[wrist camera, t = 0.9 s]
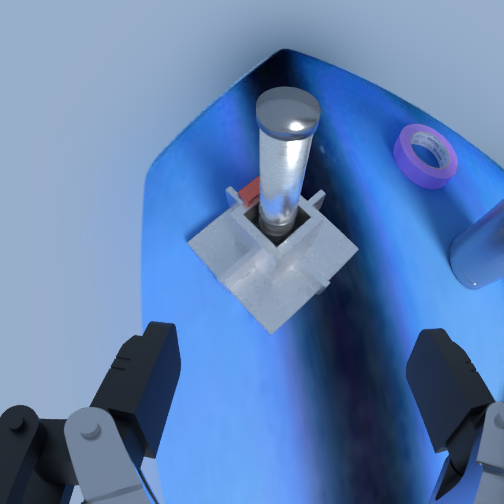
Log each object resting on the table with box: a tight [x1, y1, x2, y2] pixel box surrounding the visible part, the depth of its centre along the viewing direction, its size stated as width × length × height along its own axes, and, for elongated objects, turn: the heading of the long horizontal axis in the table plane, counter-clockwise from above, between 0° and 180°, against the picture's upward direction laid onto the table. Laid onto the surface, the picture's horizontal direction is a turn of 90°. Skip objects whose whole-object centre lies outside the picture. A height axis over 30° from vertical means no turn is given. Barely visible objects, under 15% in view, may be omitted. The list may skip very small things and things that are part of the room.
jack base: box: [187, 176, 358, 336], centre depth 36 cm, size 17×17×11 cm
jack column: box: [256, 87, 321, 247], centre depth 28 cm, size 4×4×23 cm
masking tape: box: [393, 124, 458, 189], centre depth 45 cm, size 12×12×4 cm
